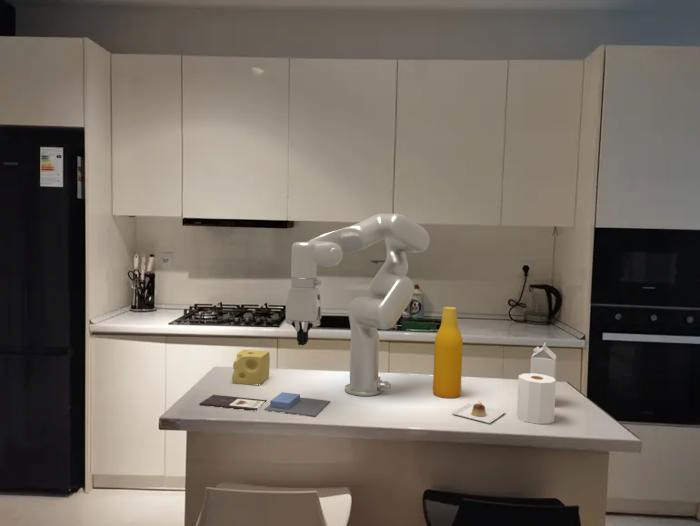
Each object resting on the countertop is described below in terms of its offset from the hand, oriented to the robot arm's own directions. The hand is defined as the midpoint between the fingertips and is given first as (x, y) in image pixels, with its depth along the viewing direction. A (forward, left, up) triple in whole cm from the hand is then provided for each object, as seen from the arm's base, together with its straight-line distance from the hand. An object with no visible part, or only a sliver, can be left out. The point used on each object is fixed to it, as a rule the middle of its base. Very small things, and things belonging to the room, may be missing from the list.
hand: (302, 344), depth 160 cm
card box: (+2, 0, -18) cm, 18 cm away
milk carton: (-71, -30, -19) cm, 79 cm away
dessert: (-52, -11, -20) cm, 57 cm away
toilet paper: (-68, -14, -19) cm, 72 cm away
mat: (+1, 0, -19) cm, 19 cm away
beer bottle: (-41, -28, -19) cm, 53 cm away
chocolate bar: (+20, +4, -20) cm, 29 cm away
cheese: (+26, -20, -19) cm, 38 cm away
